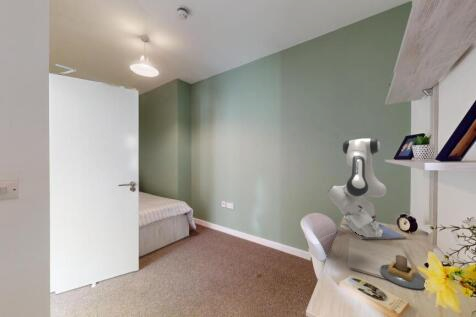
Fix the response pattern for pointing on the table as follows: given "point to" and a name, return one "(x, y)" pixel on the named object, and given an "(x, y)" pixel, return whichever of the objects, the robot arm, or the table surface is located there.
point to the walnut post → (401, 263)
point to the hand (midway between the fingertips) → (372, 234)
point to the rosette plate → (403, 276)
